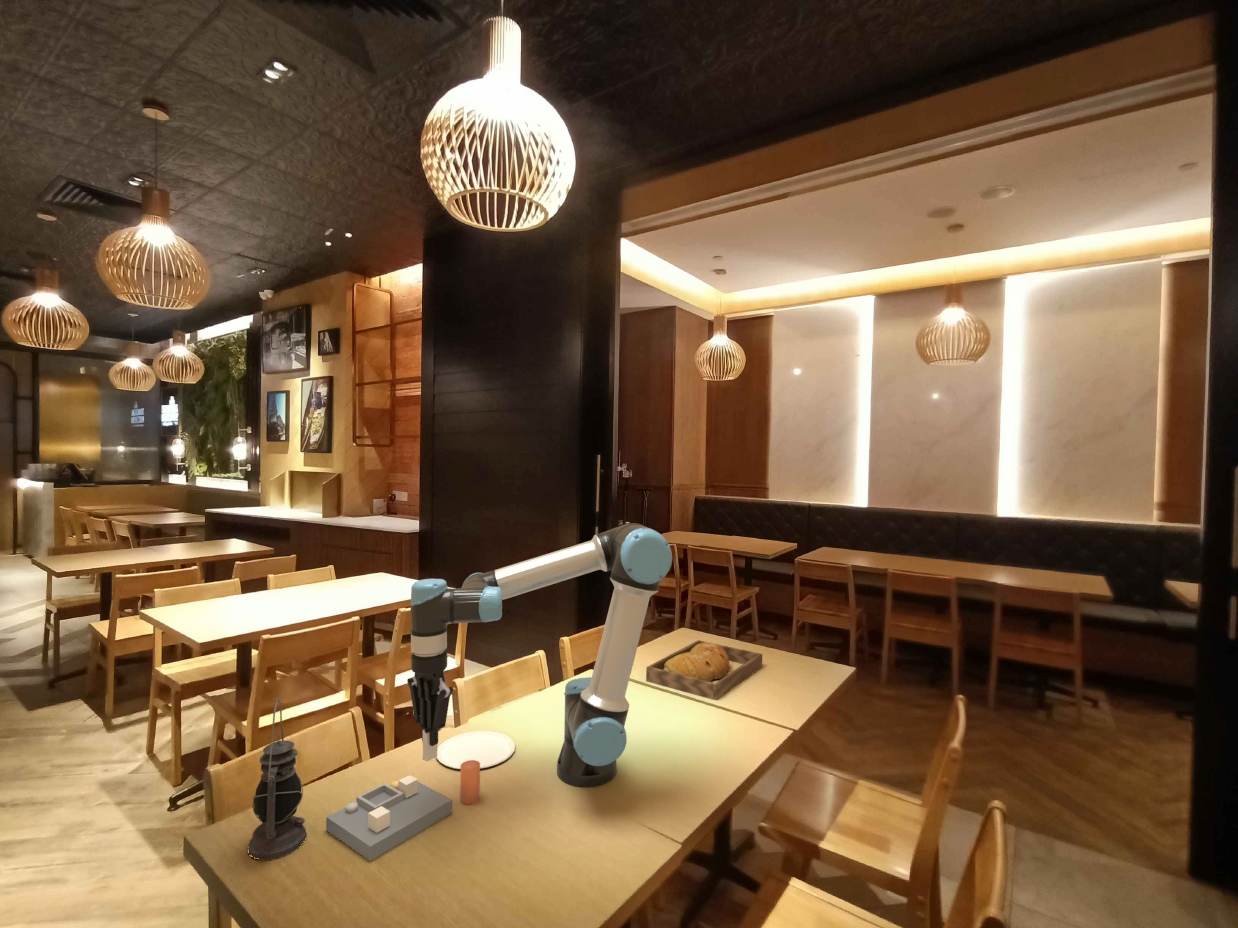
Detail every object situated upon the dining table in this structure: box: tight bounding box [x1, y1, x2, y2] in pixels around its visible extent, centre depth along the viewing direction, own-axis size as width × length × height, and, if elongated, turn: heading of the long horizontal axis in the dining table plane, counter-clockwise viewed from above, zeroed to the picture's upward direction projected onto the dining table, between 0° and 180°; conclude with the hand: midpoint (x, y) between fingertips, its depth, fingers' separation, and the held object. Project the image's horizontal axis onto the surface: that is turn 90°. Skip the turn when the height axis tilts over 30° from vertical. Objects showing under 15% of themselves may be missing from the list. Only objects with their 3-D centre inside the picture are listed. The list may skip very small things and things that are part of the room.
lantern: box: [247, 697, 308, 861], centre depth 123 cm, size 12×11×30 cm
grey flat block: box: [325, 779, 453, 862], centre depth 131 cm, size 16×20×4 cm
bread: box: [663, 641, 730, 682], centre depth 224 cm, size 32×20×10 cm, turn 143°
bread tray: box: [645, 639, 763, 701], centre depth 223 cm, size 27×39×5 cm
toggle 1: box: [368, 806, 390, 833], centre depth 124 cm, size 3×3×3 cm
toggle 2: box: [398, 775, 419, 798], centre depth 136 cm, size 3×3×3 cm
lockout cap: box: [459, 760, 481, 805], centre depth 140 cm, size 4×4×8 cm
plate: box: [435, 730, 516, 771], centre depth 162 cm, size 21×21×1 cm
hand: (430, 757), depth 132 cm, fingers closed
